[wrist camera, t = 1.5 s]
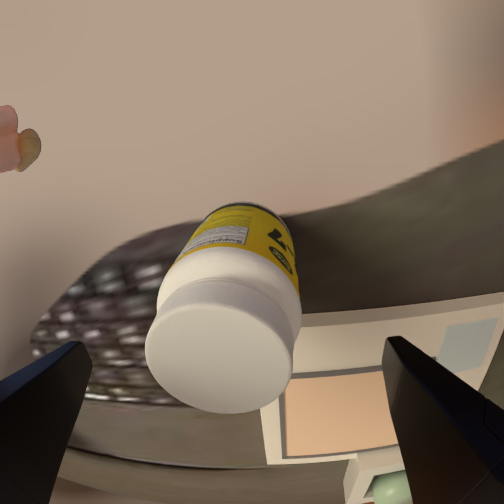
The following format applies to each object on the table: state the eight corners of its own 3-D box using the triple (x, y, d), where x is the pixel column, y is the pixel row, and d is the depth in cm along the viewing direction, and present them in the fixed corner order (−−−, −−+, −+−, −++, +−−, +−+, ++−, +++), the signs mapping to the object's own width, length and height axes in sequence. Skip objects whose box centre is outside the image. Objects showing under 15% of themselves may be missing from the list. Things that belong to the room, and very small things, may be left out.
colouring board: (503, 291, 16) (514, 302, 14) (448, 427, 21) (453, 439, 20) (252, 316, 17) (249, 332, 16) (267, 452, 23) (267, 466, 21)
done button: (426, 462, 19) (432, 484, 17) (412, 483, 21) (416, 503, 19) (377, 472, 20) (381, 496, 18) (367, 492, 21) (370, 514, 19)
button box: (442, 423, 21) (452, 449, 18) (417, 467, 24) (424, 490, 21) (354, 440, 22) (359, 470, 19) (343, 480, 25) (345, 505, 22)
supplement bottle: (301, 281, 16) (317, 414, 9) (212, 297, 17) (170, 426, 9) (281, 188, 14) (289, 273, 7) (183, 211, 15) (101, 306, 7)
